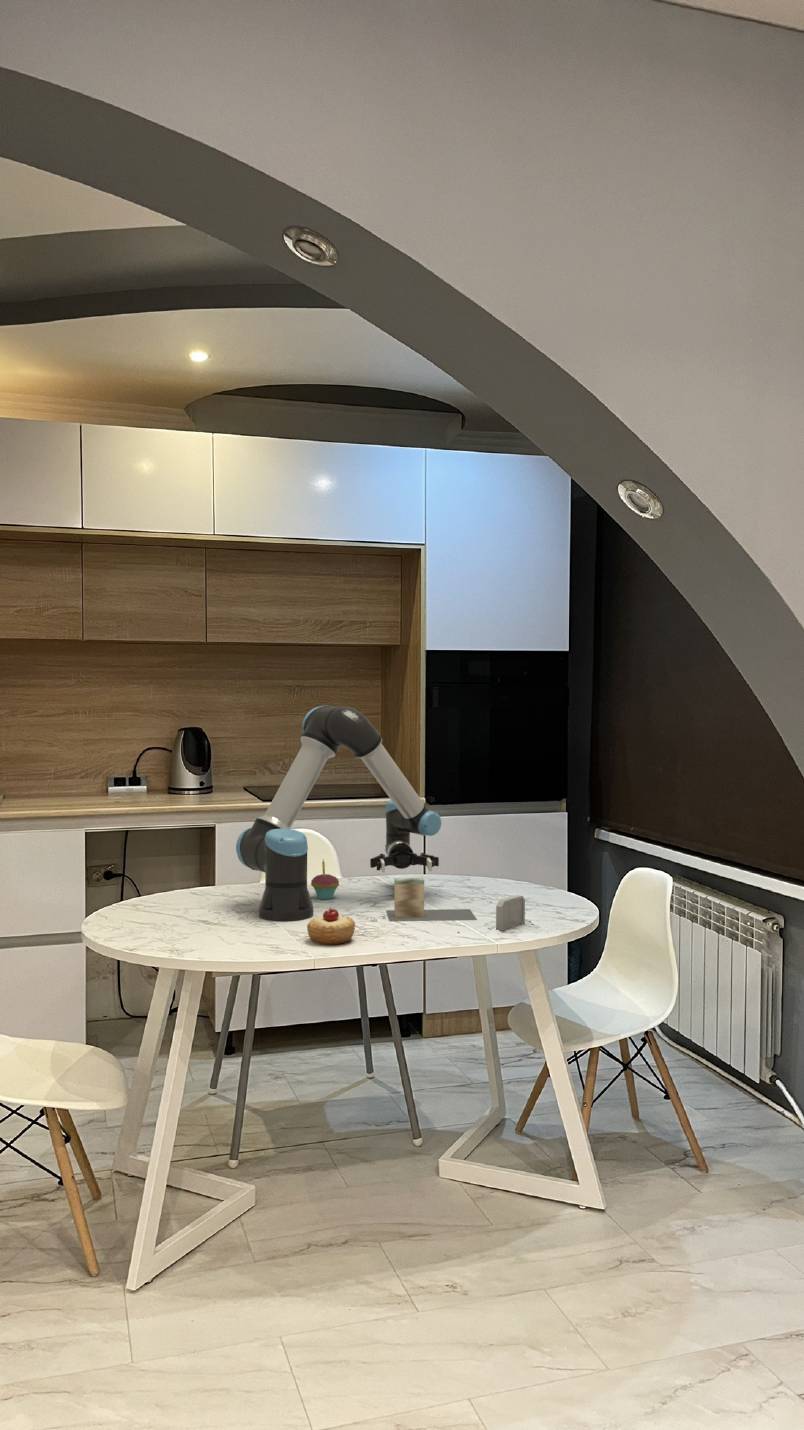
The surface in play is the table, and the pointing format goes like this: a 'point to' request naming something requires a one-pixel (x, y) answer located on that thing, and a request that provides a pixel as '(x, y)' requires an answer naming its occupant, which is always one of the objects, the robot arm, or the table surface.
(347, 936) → the pastry
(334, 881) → the cupcake
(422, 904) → the tan and green block
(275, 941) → the table surface
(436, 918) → the mat
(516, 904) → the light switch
